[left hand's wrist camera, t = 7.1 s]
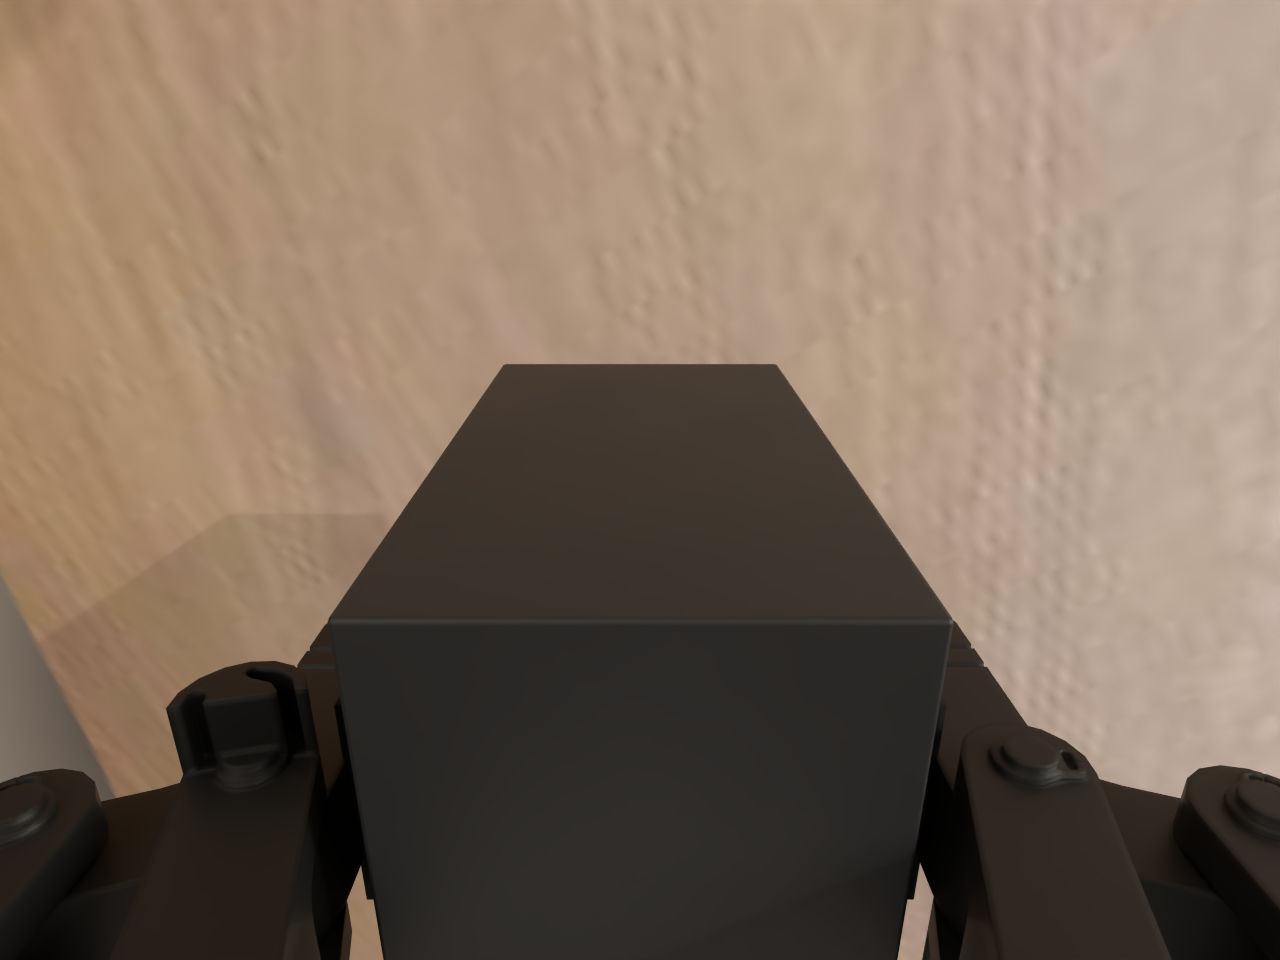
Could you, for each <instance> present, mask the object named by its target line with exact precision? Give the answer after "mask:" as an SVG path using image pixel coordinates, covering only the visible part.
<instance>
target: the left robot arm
mask: <svg viewBox="0 0 1280 960" xmlns="http://www.w3.org/2000/svg"><path fill="white" fill-rule="evenodd" d="M297 666H298V667H297V668H296V667H295V666H293V665H289V664H285V663H281V662H277V661H262V662H248V663H243V664H239V665H235V666H230V667H226V668H223V669H220V670H218V671H216V672H213V673H211V674H209V675H206V676H204V677H201V678H199V679H198V680H196V681H195V682H193V683H192V684H190V685H189V686H188V687H186V688H185V689H183V690H182V691H180V692H179V693H178V694H177V695H176V697H175V698H174V699H173V700H172V702H171V703H170V704H169V705H168V707H167V708H166V711H167V714H168V718H169V722H170V726H171V729H172V733H173V737H174V741H175V745H176V748H177V752H178V756H179V760H180V763H181V767H182V771H183V777H182V779H181V782H180V783H178V784H174V785H171V786H167V787H164V788H161V789H156V790H152V791H147V792H143V793H138V794H133V795H129V796H124V797H120V798H115V799H111V800H106V801H102V802H101V800H100V797H99V794H98V791H97V788H96V785H95V782H94V781H93V780H92V779H91V778H89V777H88V776H87V775H86V774H85V773H83V772H79V771H73V770H67V769H55V770H47V771H39V772H33V773H30V774H27V775H23V776H20V777H17V778H13V779H10V780H8V781H5V782H2V783H0V960H349V957H350V947H351V937H352V928H351V921H350V915H349V909H348V904H347V899H348V896H349V894H350V891H351V889H352V886H353V884H354V881H355V879H356V876H357V874H358V871H359V869H360V866H361V867H362V873H363V879H364V885H365V891H366V897H367V899H373V893H372V887H371V881H370V875H369V869H368V863H367V857H366V851H365V845H364V839H363V833H362V827H361V821H360V815H359V809H358V803H357V797H356V791H355V785H354V779H353V773H352V767H351V761H350V755H349V749H348V743H347V737H346V731H345V725H344V719H343V713H342V707H341V701H340V695H339V689H338V683H337V677H336V671H335V665H334V659H333V653H332V647H331V641H330V635H329V629H328V623H327V624H326V625H325V626H324V627H323V629H322V630H321V632H320V633H319V634H318V636H317V637H316V639H315V640H314V642H313V643H312V645H311V646H310V651H307V652H306V653H305V655H304V656H303V658H302V659H301V661H300V662H299V664H298V665H297ZM920 863H921V866H922V868H923V871H924V873H925V876H926V878H927V881H928V883H929V886H930V888H931V891H932V893H933V896H934V898H933V904H932V909H931V915H930V920H929V926H928V931H927V937H926V942H925V947H924V953H923V958H922V960H1280V779H1278V778H1275V777H1273V776H1270V775H1267V774H1262V773H1261V772H1257V771H1253V770H1250V769H1245V768H1237V767H1229V766H1221V765H1219V766H1213V767H1207V768H1200V769H1198V770H1197V771H1196V772H1194V773H1193V774H1192V775H1191V776H1190V777H1188V778H1187V780H1186V784H1185V787H1184V790H1183V793H1182V796H1181V799H1180V798H1176V797H1171V796H1167V795H1162V794H1158V793H1153V792H1148V791H1144V790H1139V789H1135V788H1130V787H1126V786H1121V785H1118V784H1114V783H1111V782H1107V781H1104V780H1100V779H1099V778H1098V775H1097V773H1096V772H1095V770H1094V769H1093V767H1092V766H1091V764H1090V763H1089V761H1088V760H1087V759H1086V757H1085V756H1084V755H1083V754H1081V753H1080V752H1079V751H1077V750H1076V749H1075V748H1074V747H1072V746H1071V745H1070V744H1069V743H1067V742H1066V741H1064V740H1062V739H1060V738H1058V737H1056V736H1054V735H1052V734H1050V733H1048V732H1046V731H1043V730H1041V729H1037V728H1033V727H1030V726H1027V724H1026V723H1025V721H1024V720H1023V718H1022V717H1021V716H1020V714H1019V713H1018V711H1017V710H1016V708H1015V707H1014V705H1013V704H1012V703H1011V701H1010V700H1009V698H1008V697H1007V695H1006V694H1005V692H1004V691H1003V690H1002V688H1001V687H1000V685H999V684H998V682H997V681H996V680H995V678H994V677H993V675H992V674H991V672H990V671H989V669H988V668H987V667H984V662H983V661H982V659H981V658H980V656H979V655H978V654H977V652H976V651H975V649H971V643H970V642H969V641H968V639H967V638H966V636H965V635H964V633H963V632H962V630H961V629H960V628H959V626H958V625H957V623H956V622H955V621H953V629H952V635H951V641H950V647H949V653H948V659H947V665H946V671H945V677H944V683H943V689H942V695H941V701H940V707H939V713H938V719H937V725H936V731H935V737H934V743H933V749H932V755H931V761H930V767H929V773H928V779H927V785H926V791H925V797H924V803H923V809H922V814H921V820H920V826H919V832H918V838H917V844H916V850H915V856H914V862H913V868H912V874H911V880H910V886H909V892H908V898H907V899H914V894H915V888H916V882H917V876H918V870H919V865H920Z"/></svg>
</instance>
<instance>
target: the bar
mask: <svg viewBox="0 0 1280 960" xmlns="http://www.w3.org/2000/svg"><path fill="white" fill-rule="evenodd" d="M328 629H329V635H330V641H331V647H332V653H333V659H334V665H335V671H336V677H337V683H338V689H339V695H340V701H341V707H342V713H343V719H344V725H345V731H346V737H347V743H348V749H349V755H350V761H351V767H352V773H353V779H354V785H355V791H356V797H357V803H358V809H359V815H360V821H361V827H362V833H363V839H364V845H365V851H366V857H367V863H368V869H369V875H370V881H371V887H372V893H373V899H374V905H375V911H376V917H377V923H378V929H379V935H380V941H381V947H382V953H383V959H384V960H897V958H898V952H899V946H900V940H901V934H902V928H903V922H904V916H905V910H906V904H907V898H908V892H909V886H910V880H911V874H912V868H913V862H914V856H915V850H916V844H917V838H918V832H919V826H920V820H921V814H922V809H923V803H924V797H925V791H926V785H927V779H928V773H929V767H930V761H931V755H932V749H933V743H934V737H935V731H936V725H937V719H938V713H939V707H940V701H941V695H942V689H943V683H944V677H945V671H946V665H947V659H948V653H949V647H950V641H951V635H952V629H953V620H952V617H951V616H950V614H949V613H948V611H947V610H946V609H945V607H944V606H943V604H942V603H941V601H940V600H939V598H938V597H937V596H936V594H935V593H934V591H933V590H932V588H931V587H930V586H929V584H928V583H927V581H926V580H925V578H924V577H923V575H922V574H921V573H920V571H919V570H918V568H917V567H916V565H915V564H914V562H913V561H912V560H911V558H910V557H909V555H908V554H907V552H906V551H905V549H904V548H903V547H902V545H901V544H900V542H899V541H898V539H897V538H896V536H895V535H894V534H893V532H892V531H891V529H890V528H889V526H888V525H887V523H886V522H885V521H884V519H883V518H882V516H881V515H880V513H879V512H878V511H877V509H876V508H875V506H874V505H873V503H872V502H871V500H870V499H869V498H868V496H867V495H866V493H865V492H864V490H863V489H862V487H861V486H860V485H859V483H858V482H857V480H856V479H855V477H854V476H853V474H852V473H851V472H850V470H849V469H848V467H847V466H846V464H845V463H844V461H843V460H842V459H841V457H840V456H839V454H838V453H837V451H836V450H835V448H834V447H833V446H832V444H831V443H830V441H829V440H828V438H827V437H826V435H825V434H824V433H823V431H822V430H821V428H820V427H819V425H818V424H817V423H816V421H815V420H814V418H813V417H812V415H811V414H810V412H809V411H808V410H807V408H806V407H805V405H804V404H803V402H802V401H801V399H800V398H799V397H798V395H797V394H796V392H795V391H794V389H793V388H792V386H791V385H790V384H789V382H788V381H787V379H786V378H785V376H784V375H783V373H782V372H781V371H780V369H779V368H778V366H777V365H775V364H505V365H503V367H502V368H501V370H500V371H499V373H498V374H497V376H496V377H495V378H494V380H493V381H492V383H491V384H490V386H489V387H488V389H487V390H486V391H485V393H484V394H483V396H482V397H481V399H480V400H479V402H478V403H477V405H476V406H475V407H474V409H473V410H472V412H471V413H470V415H469V416H468V418H467V419H466V420H465V422H464V423H463V425H462V426H461V428H460V429H459V431H458V432H457V433H456V435H455V436H454V438H453V439H452V441H451V442H450V444H449V445H448V447H447V448H446V449H445V451H444V452H443V454H442V455H441V457H440V458H439V460H438V461H437V462H436V464H435V465H434V467H433V468H432V470H431V471H430V473H429V474H428V475H427V477H426V478H425V480H424V481H423V483H422V484H421V486H420V487H419V488H418V490H417V491H416V493H415V494H414V496H413V497H412V499H411V500H410V502H409V503H408V504H407V506H406V507H405V509H404V510H403V512H402V513H401V515H400V516H399V517H398V519H397V520H396V522H395V523H394V525H393V526H392V528H391V529H390V530H389V532H388V533H387V535H386V536H385V538H384V539H383V541H382V542H381V544H380V545H379V546H378V548H377V549H376V551H375V552H374V554H373V555H372V557H371V558H370V559H369V561H368V562H367V564H366V565H365V567H364V568H363V570H362V571H361V572H360V574H359V575H358V577H357V578H356V580H355V581H354V583H353V584H352V586H351V587H350V588H349V590H348V591H347V593H346V594H345V596H344V597H343V599H342V600H341V601H340V603H339V604H338V606H337V607H336V609H335V610H334V612H333V613H332V614H331V616H330V617H329V620H328Z"/></svg>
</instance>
